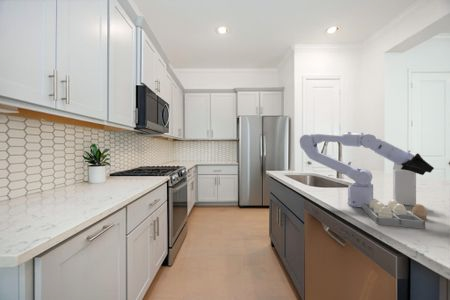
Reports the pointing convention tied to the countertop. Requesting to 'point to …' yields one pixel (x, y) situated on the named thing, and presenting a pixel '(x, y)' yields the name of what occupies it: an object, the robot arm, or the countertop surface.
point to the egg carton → (395, 218)
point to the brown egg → (419, 211)
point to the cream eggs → (387, 208)
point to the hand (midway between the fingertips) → (428, 171)
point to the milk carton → (404, 186)
